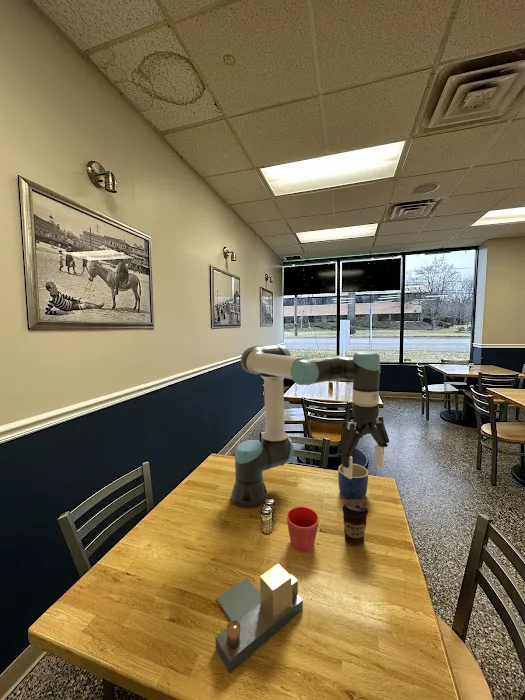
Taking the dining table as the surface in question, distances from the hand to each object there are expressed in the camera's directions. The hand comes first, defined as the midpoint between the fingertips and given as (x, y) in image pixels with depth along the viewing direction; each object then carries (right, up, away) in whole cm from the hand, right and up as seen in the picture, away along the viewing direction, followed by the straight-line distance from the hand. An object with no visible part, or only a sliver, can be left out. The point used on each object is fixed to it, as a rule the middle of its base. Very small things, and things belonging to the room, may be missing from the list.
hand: (363, 471), depth 89 cm
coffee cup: (0, -28, +9) cm, 30 cm away
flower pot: (-18, -28, +9) cm, 34 cm away
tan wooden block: (-28, -27, -16) cm, 42 cm away
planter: (+8, -26, +37) cm, 45 cm away
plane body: (-31, -30, -19) cm, 48 cm away
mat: (-37, -30, -12) cm, 49 cm away
